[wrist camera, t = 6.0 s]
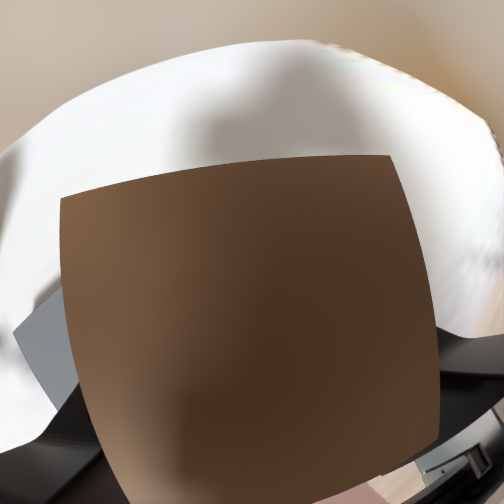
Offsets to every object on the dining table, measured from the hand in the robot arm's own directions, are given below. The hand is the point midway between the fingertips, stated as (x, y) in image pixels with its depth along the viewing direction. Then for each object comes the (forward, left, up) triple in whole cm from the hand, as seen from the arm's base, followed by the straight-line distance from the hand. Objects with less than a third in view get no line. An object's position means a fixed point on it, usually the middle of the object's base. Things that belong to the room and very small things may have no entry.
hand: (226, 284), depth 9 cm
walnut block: (-1, +1, -7) cm, 7 cm away
